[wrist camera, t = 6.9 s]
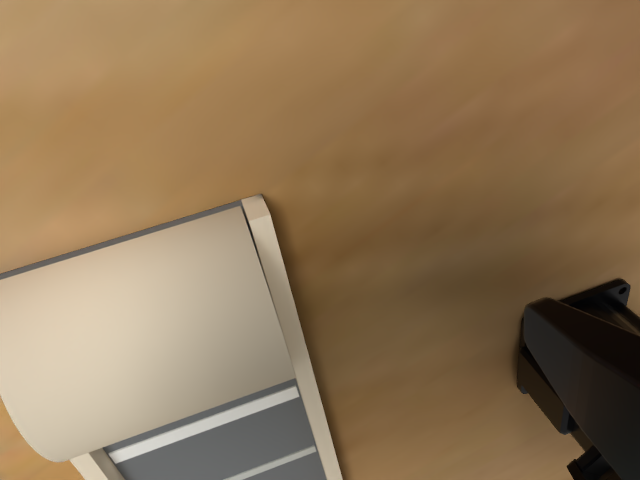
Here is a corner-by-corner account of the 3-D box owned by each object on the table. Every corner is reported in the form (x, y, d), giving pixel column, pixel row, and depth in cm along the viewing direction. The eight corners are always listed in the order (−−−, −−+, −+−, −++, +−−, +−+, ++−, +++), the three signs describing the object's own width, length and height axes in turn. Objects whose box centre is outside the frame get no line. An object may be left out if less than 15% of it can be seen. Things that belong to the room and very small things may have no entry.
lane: (244, 155, 24) (289, 257, 17) (335, 475, 39) (377, 592, 33) (-15, 232, 22) (-71, 375, 16) (185, 534, 37) (199, 668, 31)
